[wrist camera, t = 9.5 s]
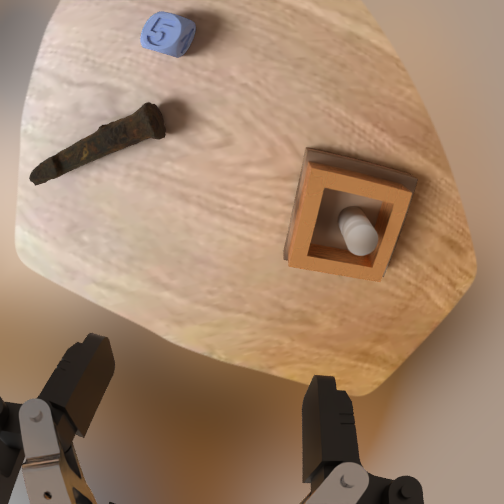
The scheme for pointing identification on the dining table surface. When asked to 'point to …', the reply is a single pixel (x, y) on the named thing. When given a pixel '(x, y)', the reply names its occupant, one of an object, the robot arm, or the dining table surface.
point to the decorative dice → (168, 34)
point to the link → (339, 259)
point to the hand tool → (103, 143)
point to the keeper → (347, 206)
